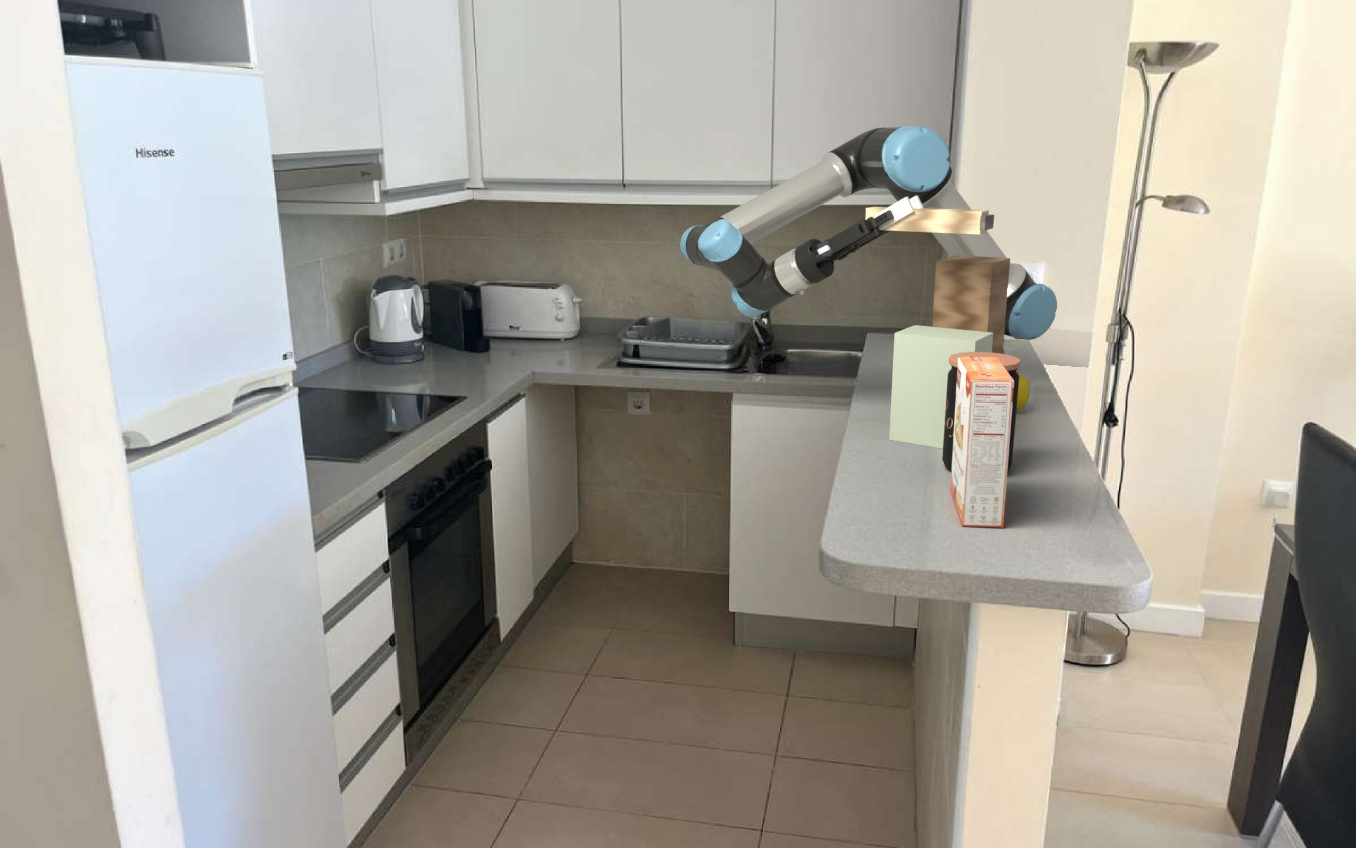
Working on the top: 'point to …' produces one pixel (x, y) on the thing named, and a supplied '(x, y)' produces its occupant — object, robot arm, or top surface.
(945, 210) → the light wooden bar
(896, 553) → the top surface
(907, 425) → the pale green rectangular prism
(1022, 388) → the lemon
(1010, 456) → the coffee jar
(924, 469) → the top surface
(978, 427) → the cracker box
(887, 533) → the top surface
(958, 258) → the stand
